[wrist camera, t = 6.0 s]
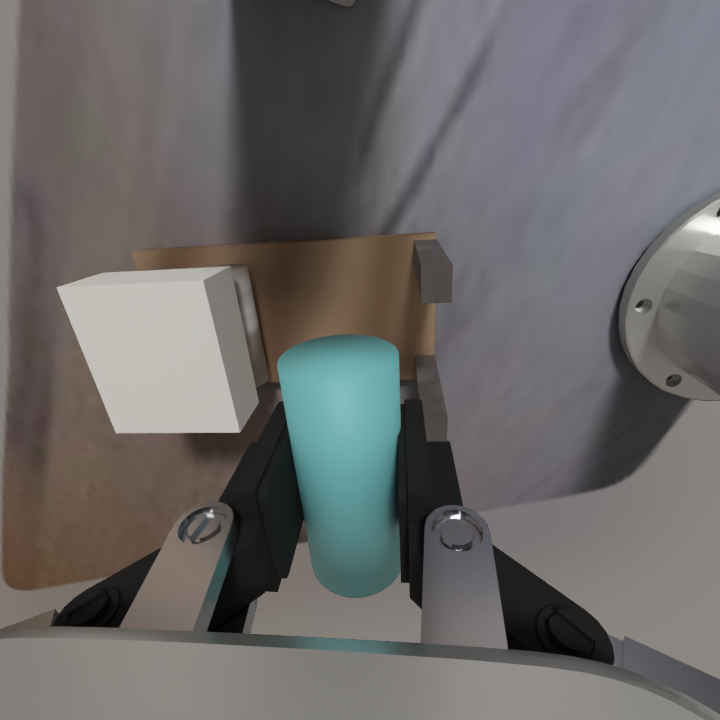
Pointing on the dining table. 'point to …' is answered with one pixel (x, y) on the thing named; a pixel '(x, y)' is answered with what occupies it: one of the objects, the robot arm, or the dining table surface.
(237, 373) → the slab
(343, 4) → the coffee box
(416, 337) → the roller bed
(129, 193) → the dining table surface
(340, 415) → the roller
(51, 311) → the dining table surface
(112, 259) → the dining table surface
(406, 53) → the dining table surface
